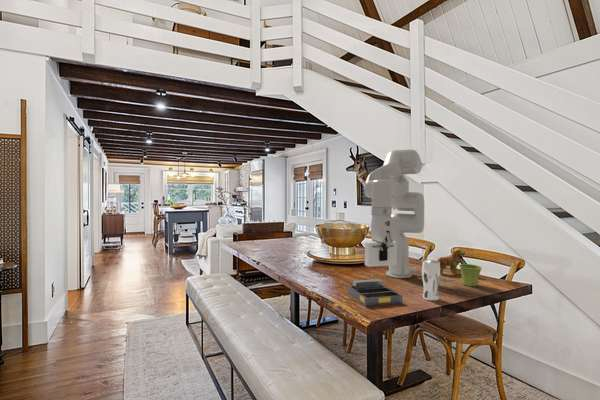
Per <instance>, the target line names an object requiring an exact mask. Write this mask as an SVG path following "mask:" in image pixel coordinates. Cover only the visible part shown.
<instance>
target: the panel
mask: <svg viewBox="0 0 600 400" xmlns="http://www.w3.org/2000/svg"><path fill="white" fill-rule="evenodd" d="M384 242H386V241H384ZM383 245H384V244H383ZM379 250H380V242H378V241H375V242H373V241H365V242H364V266H365V267H368V268H371V267H373V268H374V267H389V266H392V265H397V242H395V241H393V242H391V246H389V248H388V257H387V261H380V260H379Z"/></svg>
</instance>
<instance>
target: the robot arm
mask: <svg viewBox="0 0 600 400" xmlns="http://www.w3.org/2000/svg"><path fill="white" fill-rule="evenodd" d="M421 159H422V158H421V156H420V154H419V153H418V151H417V150H414V149H398V150H397V149H396V150H391V151H389V152H388V153H387V154H386V156H385V159H384V161H383V164H382V166H380V167H377V168H376V169H374V170H373V171H371V172H370V173H369V174H367V175H368V176H367V178H366V180H365V183H364V185H363V186H364V187H363V192H364V195H365V196H366V197H367V198H368V199H371V212H370V213H371V216H372V217H371V222H370V238H371V242H375V241H378V242H380V250H379V260H380V261H387V257H388V248H389V246H391V242H393V241H395V242H397V265H392V266H388V270H386V271H385V276H388V277H390V278H393V279H394V278H395V279H407V278H408V279H409V278H411V277H412V272H417V271H418V269H417V267H415V266H414V267H411V266H409V256H410V255H409V252H410V251H409V249H410V247H409V246H410V245H409V244H410V243H409V239H408V237H407V236H406V235H405V234H420V233H421V234H422V233H423V231H424V230H425V229H424V228H425V198H424V197H425V196H424V194H423V193H421V192H416V191H409V189H410V187H409V186H410V183H409V180H408V179H407V178H406V176H405V175H417V174H420V173H421V171H422V167H423V166H422V165H423V163H422V160H421ZM392 209H393V210H394V211H398V212H399V211H400V212H399V213H398V212H397V213H392V212H393V210H392ZM401 212H413V213H401ZM404 233H405V234H404ZM384 241H386V242H384ZM383 244H384V245H383Z"/></svg>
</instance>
